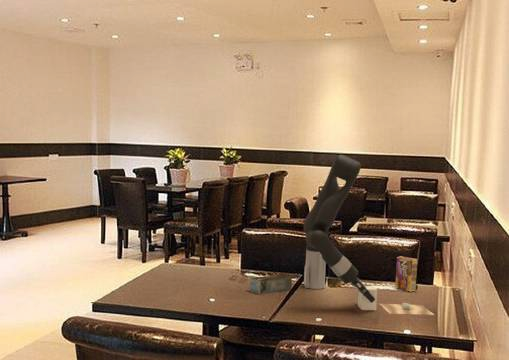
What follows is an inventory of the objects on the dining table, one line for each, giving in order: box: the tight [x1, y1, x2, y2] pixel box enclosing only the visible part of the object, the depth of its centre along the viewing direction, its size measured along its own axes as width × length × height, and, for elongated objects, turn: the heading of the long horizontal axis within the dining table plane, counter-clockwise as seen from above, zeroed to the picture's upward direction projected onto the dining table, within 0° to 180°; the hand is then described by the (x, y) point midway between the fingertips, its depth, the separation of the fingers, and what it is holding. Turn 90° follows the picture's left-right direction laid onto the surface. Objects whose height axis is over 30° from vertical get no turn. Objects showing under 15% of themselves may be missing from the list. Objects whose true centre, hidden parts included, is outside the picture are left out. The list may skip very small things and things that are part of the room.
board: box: [379, 303, 435, 316], centre depth 235 cm, size 18×15×1 cm
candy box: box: [394, 255, 418, 293], centre depth 273 cm, size 9×4×15 cm, turn 39°
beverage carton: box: [249, 273, 292, 295], centre depth 261 cm, size 8×19×7 cm, turn 130°
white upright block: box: [357, 285, 378, 311], centre depth 234 cm, size 6×6×9 cm
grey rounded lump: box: [401, 302, 411, 310], centre depth 235 cm, size 3×3×2 cm
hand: (370, 298), depth 234 cm, fingers open, 8 cm apart
